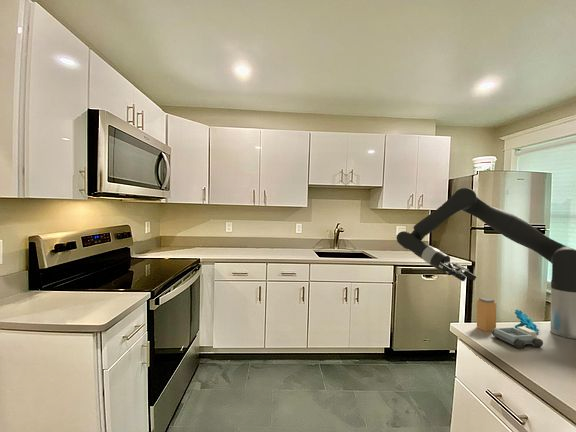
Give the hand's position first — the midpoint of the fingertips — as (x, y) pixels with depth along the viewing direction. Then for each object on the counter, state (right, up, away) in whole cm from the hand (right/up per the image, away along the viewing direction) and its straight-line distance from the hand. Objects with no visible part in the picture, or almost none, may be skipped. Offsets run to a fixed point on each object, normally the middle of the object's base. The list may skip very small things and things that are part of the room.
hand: (470, 279), depth 118 cm
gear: (+21, -20, -2) cm, 29 cm away
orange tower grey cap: (+6, -20, -1) cm, 21 cm away
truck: (+8, -20, -13) cm, 25 cm away
